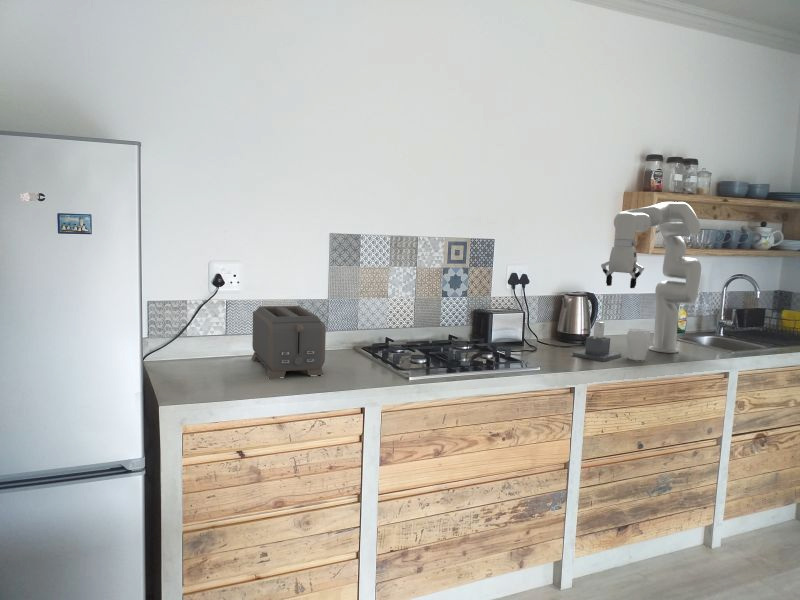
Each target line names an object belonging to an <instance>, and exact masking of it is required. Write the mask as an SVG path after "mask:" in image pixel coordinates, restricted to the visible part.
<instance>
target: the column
mask: <svg viewBox="0 0 800 600" xmlns="http://www.w3.org/2000/svg"><path fill="white" fill-rule="evenodd" d="M593 325H594V326H593V336H597V339H603V337H605V336H604V334H605V322H604V321H594V324H593Z"/></svg>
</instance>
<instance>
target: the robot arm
mask: <svg viewBox="0 0 800 600" xmlns="http://www.w3.org/2000/svg"><path fill="white" fill-rule="evenodd" d="M613 226H614V239H613V241H614V243H613V246H612V248H611V250H610V255H609V258H608V260H609V261H607V262H604V263H601V264H600V267H601V269H602V273H604V274H605V276H606V277H605V278H606V280H605V283H606V286H607V287H610V286H612V282H613V275H612V274H614V272H615V273H623V274H629V275H630V276H631V278H630V282H629V288H630V289H635V287H636V285H637V279H638V277H640V276H641V275H642V273H643V272H644V271H645V267H644V266H642V265H640V264H639V263H638V256H637V255H638V254H637V248H636V247H635V246H638V241H636V240H635V238H636V237H635V236H636V232H637V233H644V232H646V231H648V230H649V229H650V228H651V227H657V226H658V229H659V232H660V234H661V235H662V237H663V240H664V244H665V251H664V257H663V264H662V275H663V276H664V277H666V278H671V279H679V280H685V282H683V281H677V280H676V281H675V280H662V281H659V282H658V283H657V284H656V286H655V300H656V302H655V303H656V307H655V316H654V317H655V318H654V328H653V329H654V333H653V339H652V340H653V343H652V345H648V349H649V350H650V351H653V352H658V353H665V354H666V353H667V354H678V353H679V352H680V349H679V348H677V346H676V345H677V343H678V341H677V334H678V327H679V325H678V323H679V314H680V313H679V309H678V308H677V306H676V304H679V305H693V304H694V303H696V301H697V298H698V293H699V287H700V281H701V276H702V264H701V262H700V260H699V259H697V258H693V257H686V253H687V252H686V251H687V244H686V242H685V241H684V239H683V238H684V237H685V238H694V237H696V236H697V235H698V234H699V233H700V230H701V223H700V220H699V218H698V216H697V215H696V213H695V211H694V210H693V208H692V207H691V206H690V205H689V204H688V203H686V202H684V201H678V202H677V201H675V202H674V201H664V202H660V203H657V204H653V205H650V206H645V207H639V208H633V209H628V210H624V211H620V212H618V213H617V214H616V216H615V217H614V219H613ZM607 266H608V269H607ZM637 269H638V271H637Z"/></svg>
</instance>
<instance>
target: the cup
mask: <svg viewBox="0 0 800 600" xmlns="http://www.w3.org/2000/svg"><path fill="white" fill-rule="evenodd" d="M650 335H651V332H650V330H647V329H639V328H628V329H627V334H626V346H627V358H628V359H629V360H633V361H639V360H641V361H645V359H646V356H647V352H648V349H649V343H650V340H651V336H650Z"/></svg>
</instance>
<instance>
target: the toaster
mask: <svg viewBox="0 0 800 600" xmlns="http://www.w3.org/2000/svg"><path fill="white" fill-rule="evenodd" d="M326 331H327V330H326V324H325V322H324V321H322V320H321V319H320V318H319V315H316V314H314V313H313V312H310V311H309V310H307V309H305V308H304V307H301V306H300V305H267V306H265V305H264V306H263V305H261V306H258V307H257V309H255V310H254V311H253V312H252V350H253V355H252V357H251V361H252V362H253V363H254V362H255V361H258V362H261V363H262V364H263V365H264V367H265V368H266V369H267V370H266V373H265V374H266V375H265V377H266V376H267V377H268V378H280V377H284V378H285V375H286V372H294V371H305V374H306V373H307V374H308V375H310V376H311V375H323V374H324V375H325V373H324V371H323V368H322V367H323V366H324V364H325V361H326V334H327V333H326ZM307 374H306V375H307ZM308 375H307V376H308ZM267 377H266V378H267ZM268 378H267V379H268Z"/></svg>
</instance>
